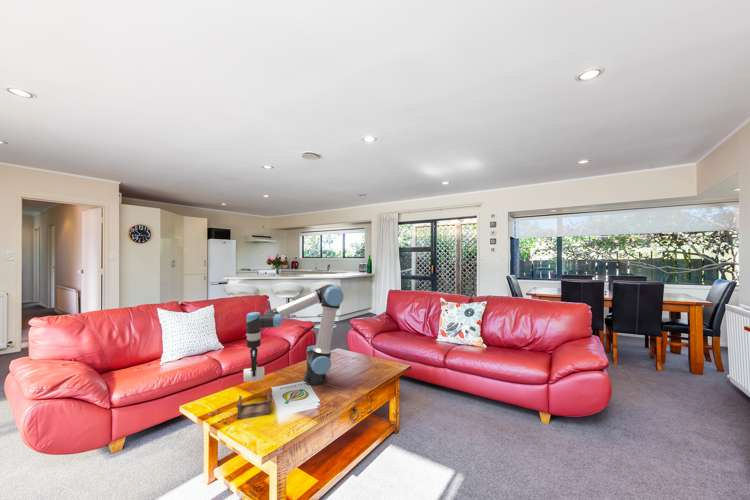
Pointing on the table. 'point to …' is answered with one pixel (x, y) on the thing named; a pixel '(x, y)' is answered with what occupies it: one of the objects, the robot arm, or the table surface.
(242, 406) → the holder
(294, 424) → the table surface
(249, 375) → the roll
